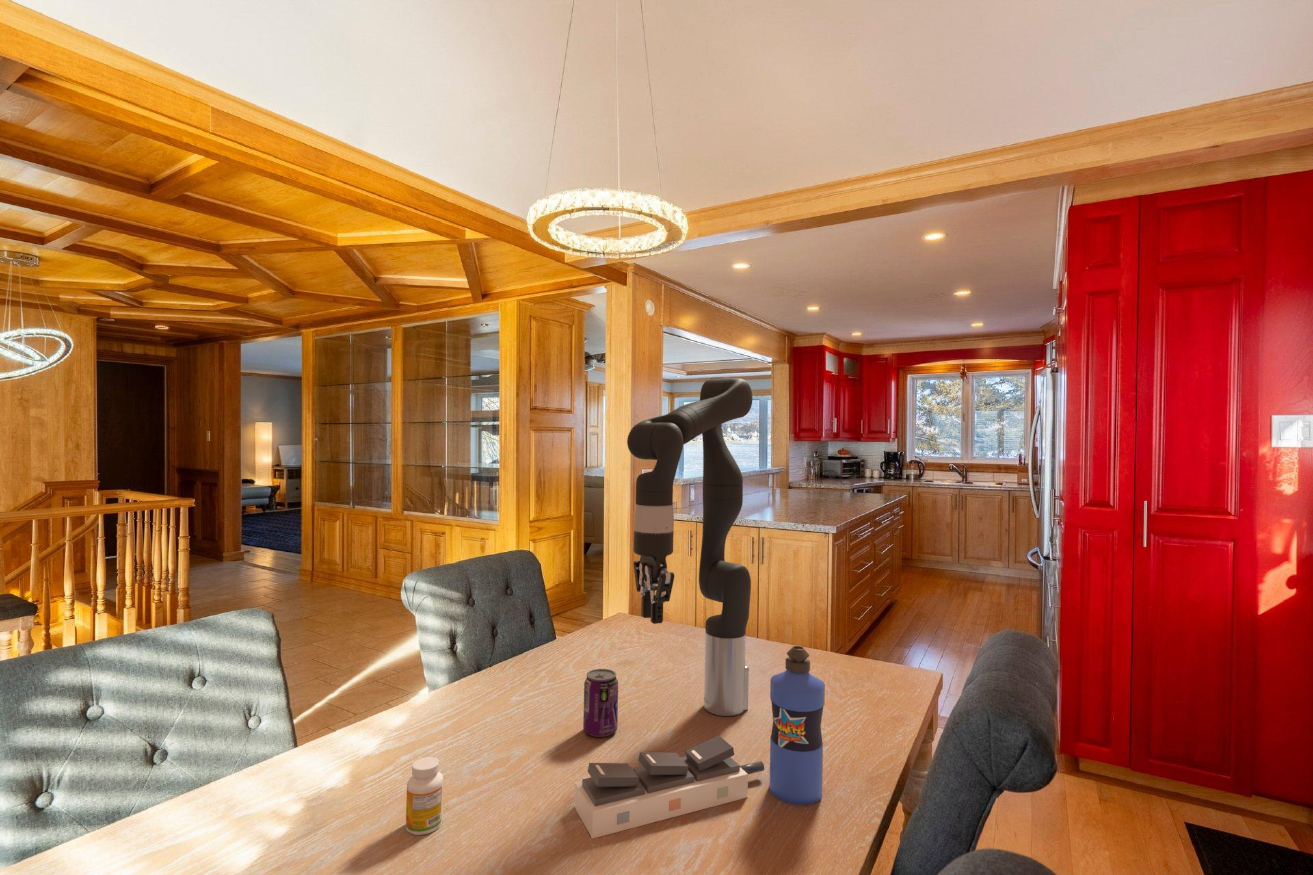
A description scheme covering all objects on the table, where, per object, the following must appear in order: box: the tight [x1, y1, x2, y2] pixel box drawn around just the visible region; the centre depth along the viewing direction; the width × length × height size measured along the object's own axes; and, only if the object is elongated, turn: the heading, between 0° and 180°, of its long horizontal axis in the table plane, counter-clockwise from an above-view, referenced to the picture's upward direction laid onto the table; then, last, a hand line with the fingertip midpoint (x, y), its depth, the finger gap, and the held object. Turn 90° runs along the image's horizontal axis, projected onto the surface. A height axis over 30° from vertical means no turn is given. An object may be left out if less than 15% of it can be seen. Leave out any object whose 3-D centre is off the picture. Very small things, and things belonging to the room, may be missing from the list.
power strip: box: [574, 755, 765, 839], centre depth 106 cm, size 34×9×5 cm, turn 115°
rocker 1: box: [587, 762, 639, 787], centre depth 101 cm, size 7×5×2 cm
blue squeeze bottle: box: [768, 645, 826, 806], centre depth 109 cm, size 9×9×25 cm
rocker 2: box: [637, 751, 689, 775], centre depth 105 cm, size 7×5×2 cm
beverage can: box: [582, 668, 619, 738], centre depth 130 cm, size 7×7×12 cm
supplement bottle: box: [405, 756, 444, 836], centre depth 98 cm, size 5×5×10 cm
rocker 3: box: [684, 735, 735, 771], centre depth 109 cm, size 7×5×2 cm
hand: (652, 619), depth 117 cm, fingers open, 3 cm apart
